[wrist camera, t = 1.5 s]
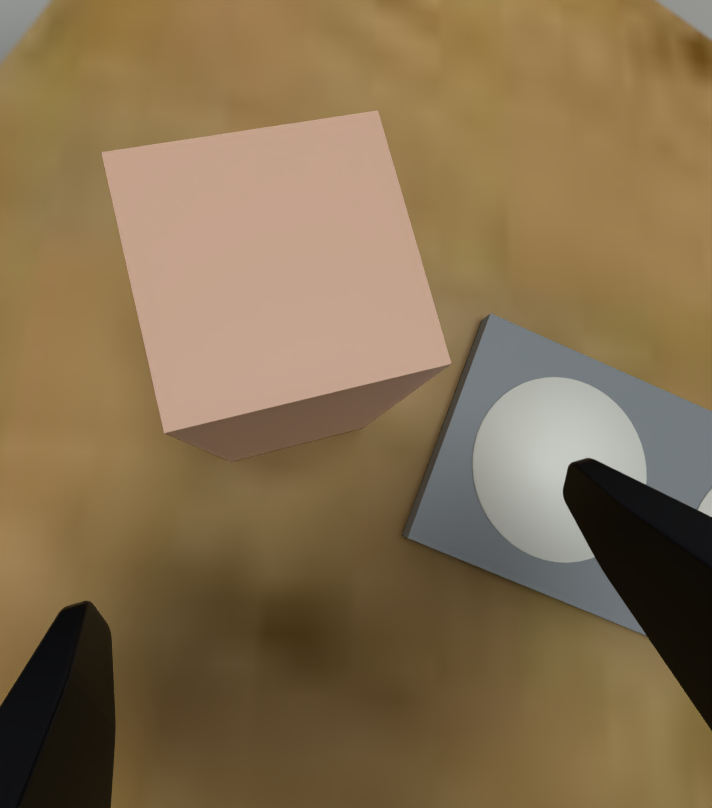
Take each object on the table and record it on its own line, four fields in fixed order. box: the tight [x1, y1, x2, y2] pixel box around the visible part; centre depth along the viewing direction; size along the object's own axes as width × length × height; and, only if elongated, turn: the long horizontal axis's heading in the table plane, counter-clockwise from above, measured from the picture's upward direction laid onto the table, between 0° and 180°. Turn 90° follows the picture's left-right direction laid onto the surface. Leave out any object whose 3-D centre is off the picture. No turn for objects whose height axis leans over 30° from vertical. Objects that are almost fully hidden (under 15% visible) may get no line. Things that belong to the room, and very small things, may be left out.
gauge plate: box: [402, 313, 712, 636], centre depth 21 cm, size 10×20×4 cm, turn 68°
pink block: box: [102, 111, 451, 462], centre depth 16 cm, size 6×6×12 cm
